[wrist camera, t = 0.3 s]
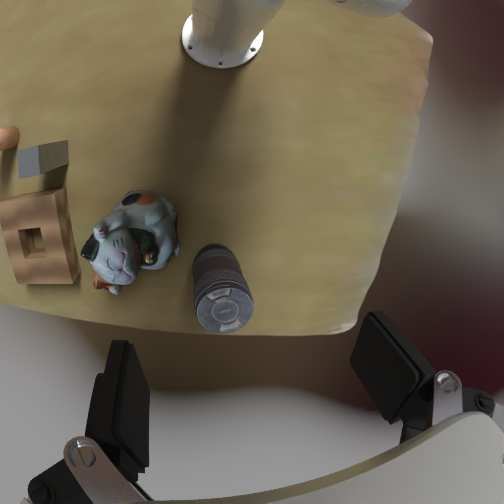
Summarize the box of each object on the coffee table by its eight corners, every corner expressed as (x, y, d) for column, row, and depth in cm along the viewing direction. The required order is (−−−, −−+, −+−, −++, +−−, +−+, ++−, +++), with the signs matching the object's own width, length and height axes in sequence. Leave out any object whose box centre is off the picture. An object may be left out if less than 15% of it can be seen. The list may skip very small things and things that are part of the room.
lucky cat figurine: (179, 268, 48) (140, 326, 37) (126, 245, 48) (81, 293, 37) (187, 195, 38) (131, 251, 27) (123, 175, 39) (61, 218, 28)
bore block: (9, 196, 34) (-3, 203, 30) (65, 187, 37) (54, 193, 33) (27, 272, 41) (17, 284, 37) (80, 271, 43) (73, 283, 39)
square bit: (48, 143, 33) (17, 150, 24) (67, 140, 33) (38, 145, 25) (50, 166, 34) (19, 178, 25) (68, 163, 35) (39, 174, 26)
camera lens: (243, 270, 50) (262, 322, 37) (203, 286, 50) (209, 342, 37) (228, 232, 47) (243, 277, 33) (184, 250, 46) (183, 301, 33)
